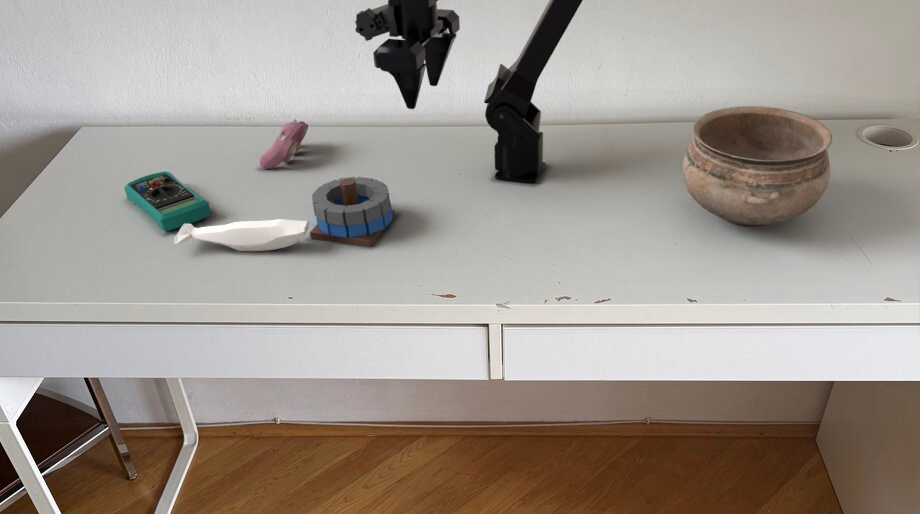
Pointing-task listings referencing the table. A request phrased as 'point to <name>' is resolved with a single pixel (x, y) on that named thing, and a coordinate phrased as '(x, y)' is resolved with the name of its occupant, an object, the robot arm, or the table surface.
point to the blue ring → (359, 228)
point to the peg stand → (348, 199)
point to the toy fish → (248, 234)
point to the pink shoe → (284, 144)
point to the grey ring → (351, 212)
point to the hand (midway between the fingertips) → (422, 96)
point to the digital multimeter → (167, 200)
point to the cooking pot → (757, 164)
